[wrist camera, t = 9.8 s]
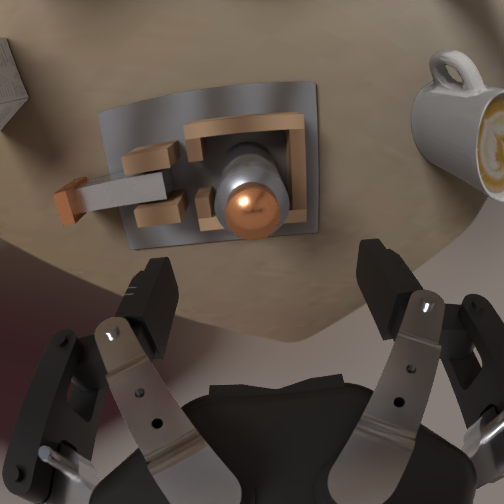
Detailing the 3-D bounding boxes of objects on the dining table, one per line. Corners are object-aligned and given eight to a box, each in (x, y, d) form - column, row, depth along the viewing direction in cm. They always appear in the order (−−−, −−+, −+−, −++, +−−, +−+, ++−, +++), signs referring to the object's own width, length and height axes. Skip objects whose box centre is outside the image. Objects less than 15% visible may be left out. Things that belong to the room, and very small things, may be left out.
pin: (168, 159, 24) (156, 172, 21) (174, 192, 26) (164, 209, 22) (74, 179, 24) (52, 194, 21) (82, 207, 26) (62, 225, 22)
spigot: (271, 139, 24) (291, 173, 14) (274, 185, 26) (293, 247, 17) (221, 143, 24) (206, 181, 14) (227, 189, 26) (218, 254, 17)
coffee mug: (480, 153, 24) (538, 183, 16) (422, 178, 26) (479, 218, 18) (454, 45, 18) (519, 46, 9) (386, 58, 20) (450, 53, 11)
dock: (314, 81, 22) (327, 80, 18) (316, 230, 29) (327, 252, 26) (99, 112, 22) (76, 118, 18) (131, 247, 30) (118, 270, 26)
